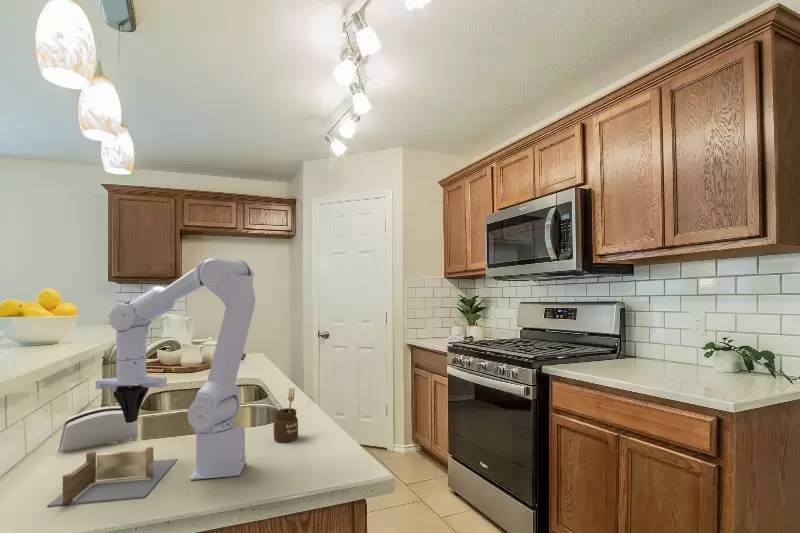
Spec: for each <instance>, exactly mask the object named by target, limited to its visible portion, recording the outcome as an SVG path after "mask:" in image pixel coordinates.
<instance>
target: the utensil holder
mask: <svg viewBox="0 0 800 533" xmlns="http://www.w3.org/2000/svg"><path fill="white" fill-rule="evenodd" d="M295 390H296V388H295V387H289V388H288V397H287V399H288V401H289V406H288V408H287V407H286V406H287V405H284V406H282V404H280V406H279V404H275V406H276V409H277V410H276V411H275V412H274V417H275V418H274V420H273V439H274V441H275V442H276V443H280V444H281V443H292V442H294V441H297V439H298V437H299V421H298V420H299V419H298V417H297V409H296V408H292V402H293V401H295V392H296V391H295ZM283 397H284V396H283V395H282V396H281V395H280V396H279V398H277V401H280V402H282V400H283V402H282V403H287V402H286V401H287V400H286V399H285V397H284V398H283ZM280 398H281V399H280ZM281 406H282V408H279V407H281Z"/></svg>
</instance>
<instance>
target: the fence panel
mask: <svg viewBox="0 0 800 533" xmlns="http://www.w3.org/2000/svg"><path fill="white" fill-rule="evenodd" d="M153 461H154V447H153V446H149V447H146V448H145V449H139V450H138V449H137V450H128V451H117V452H116V451H115V452H105V453H104V452H103V453H98V454H96V467H97V480H107V479H117V478H128V477H138V476H146V477H150V476H153Z"/></svg>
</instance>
